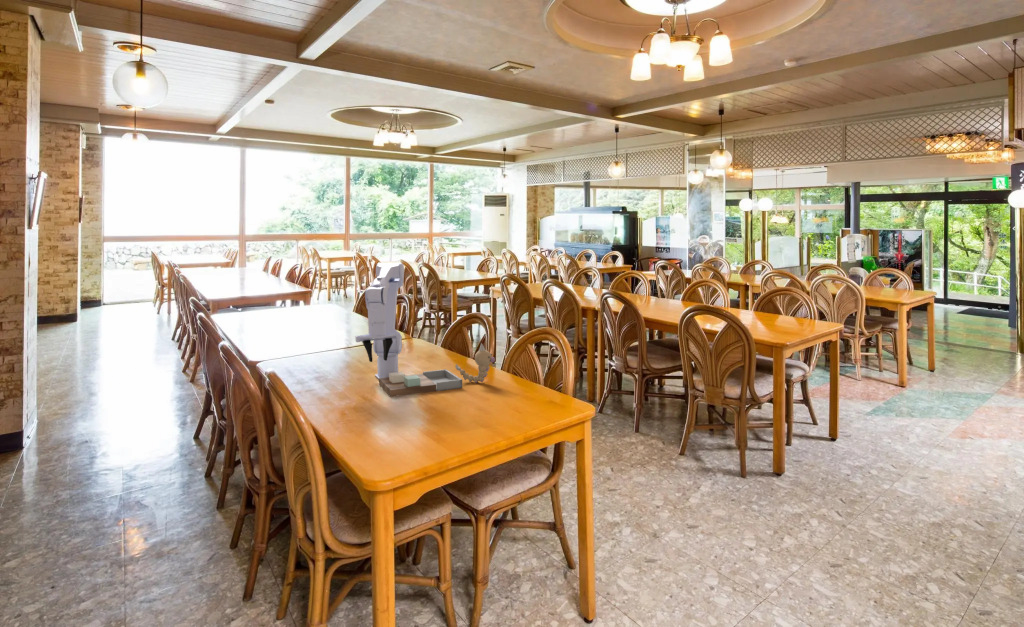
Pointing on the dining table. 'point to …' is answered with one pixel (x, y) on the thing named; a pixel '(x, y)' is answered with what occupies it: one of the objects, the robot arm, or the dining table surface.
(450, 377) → the tray
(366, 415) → the dining table surface
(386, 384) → the board
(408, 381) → the grey-green block
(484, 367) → the toy
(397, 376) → the tile
